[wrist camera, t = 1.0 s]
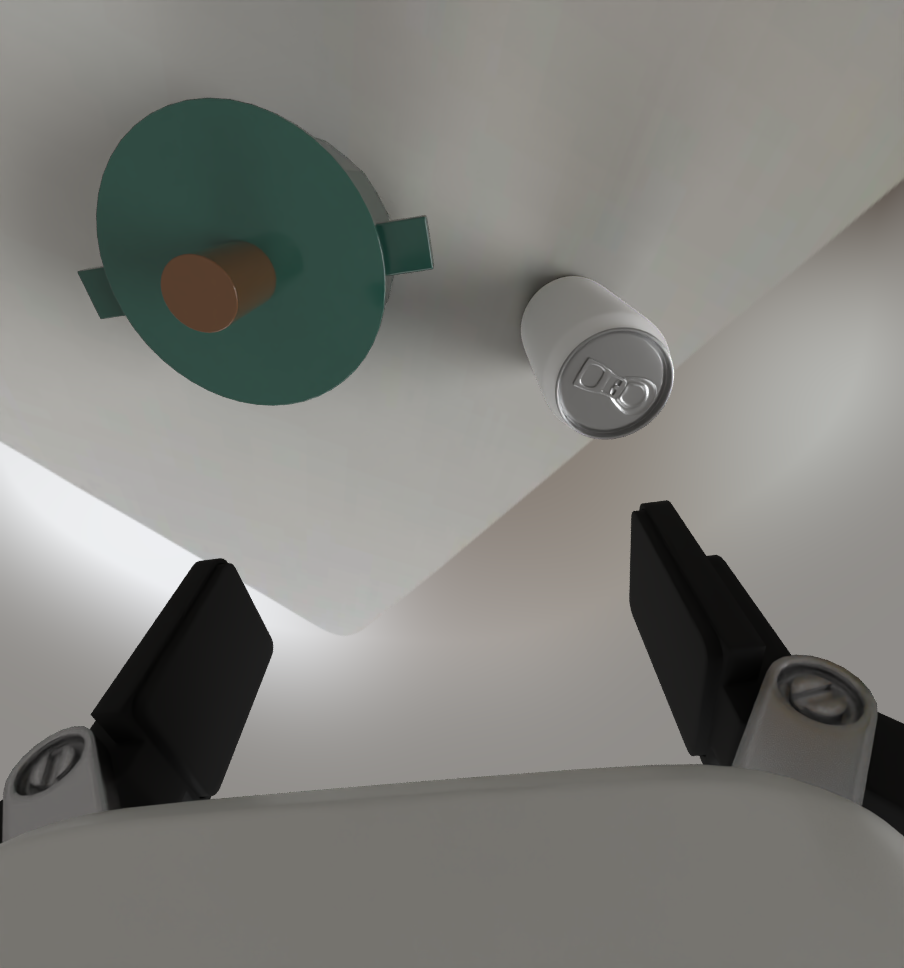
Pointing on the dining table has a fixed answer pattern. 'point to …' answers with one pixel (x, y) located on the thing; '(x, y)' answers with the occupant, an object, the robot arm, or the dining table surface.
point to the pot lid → (241, 251)
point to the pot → (399, 237)
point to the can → (596, 358)
